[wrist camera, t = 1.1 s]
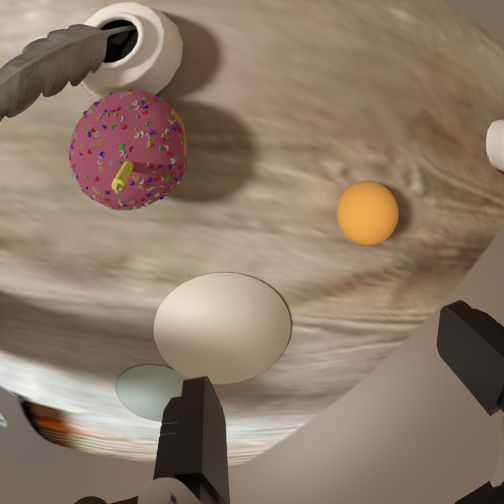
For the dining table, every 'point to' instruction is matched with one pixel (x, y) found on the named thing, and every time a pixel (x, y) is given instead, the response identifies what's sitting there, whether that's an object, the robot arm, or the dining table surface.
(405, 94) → the dining table surface
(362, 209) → the ball
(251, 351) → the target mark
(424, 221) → the dining table surface
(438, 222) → the dining table surface
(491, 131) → the foam cup
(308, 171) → the dining table surface
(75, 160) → the cupcake
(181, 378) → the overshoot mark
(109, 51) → the inkwell
